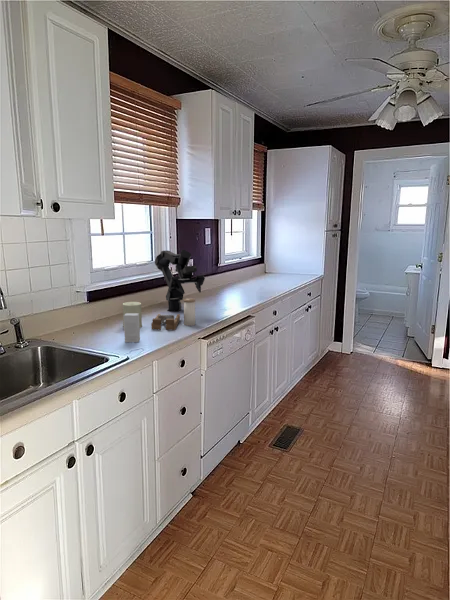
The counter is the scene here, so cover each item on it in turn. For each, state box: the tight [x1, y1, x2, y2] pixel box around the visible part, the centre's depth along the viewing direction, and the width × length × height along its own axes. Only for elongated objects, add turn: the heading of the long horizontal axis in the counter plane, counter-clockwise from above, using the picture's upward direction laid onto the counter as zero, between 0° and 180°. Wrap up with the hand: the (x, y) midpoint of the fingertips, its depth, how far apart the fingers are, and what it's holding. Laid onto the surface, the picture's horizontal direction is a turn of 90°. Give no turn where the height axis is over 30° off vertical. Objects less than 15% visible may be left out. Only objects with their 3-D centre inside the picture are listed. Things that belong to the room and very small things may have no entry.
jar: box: [183, 297, 197, 327], centre depth 209 cm, size 6×6×13 cm
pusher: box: [157, 314, 175, 325], centre depth 206 cm, size 8×8×4 cm
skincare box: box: [123, 313, 141, 343], centre depth 180 cm, size 6×4×12 cm
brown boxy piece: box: [150, 313, 181, 331], centre depth 209 cm, size 20×11×5 cm, turn 0°
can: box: [122, 301, 143, 328], centre depth 204 cm, size 9×9×12 cm
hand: (192, 292), depth 217 cm, fingers open, 9 cm apart
